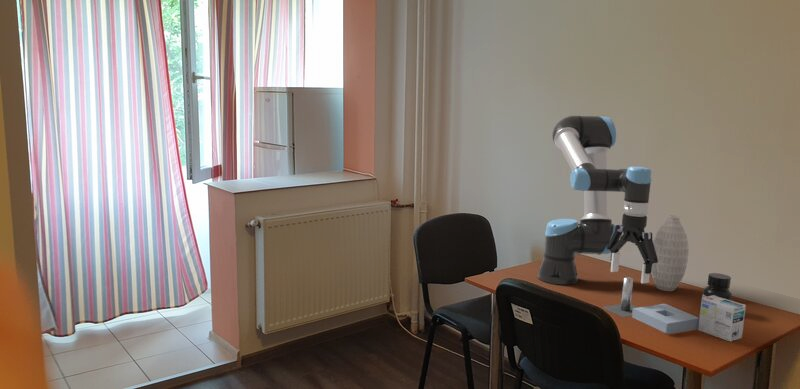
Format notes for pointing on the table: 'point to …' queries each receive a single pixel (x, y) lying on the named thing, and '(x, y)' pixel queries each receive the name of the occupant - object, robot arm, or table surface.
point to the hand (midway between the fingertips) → (629, 277)
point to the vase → (670, 254)
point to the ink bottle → (718, 286)
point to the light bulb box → (721, 318)
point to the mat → (619, 310)
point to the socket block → (666, 318)
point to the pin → (626, 294)
